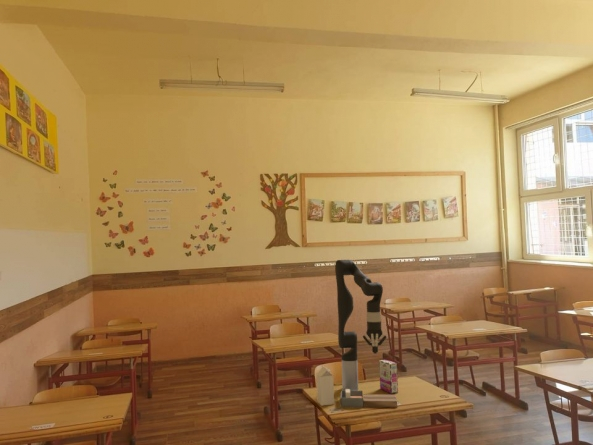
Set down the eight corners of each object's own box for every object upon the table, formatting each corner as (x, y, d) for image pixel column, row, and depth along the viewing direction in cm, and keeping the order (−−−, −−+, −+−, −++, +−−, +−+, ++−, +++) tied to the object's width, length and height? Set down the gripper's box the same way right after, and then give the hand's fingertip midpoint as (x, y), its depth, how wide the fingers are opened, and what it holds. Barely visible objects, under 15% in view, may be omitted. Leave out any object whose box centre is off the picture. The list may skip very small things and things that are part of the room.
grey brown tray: (363, 399, 248) (363, 394, 248) (395, 400, 246) (395, 394, 246) (363, 406, 237) (363, 400, 237) (397, 407, 235) (397, 401, 235)
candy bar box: (398, 392, 259) (397, 363, 260) (391, 394, 257) (390, 364, 258) (386, 387, 269) (385, 359, 270) (379, 388, 267) (378, 360, 268)
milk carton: (321, 406, 240) (320, 369, 241) (317, 401, 247) (316, 366, 248) (334, 404, 242) (333, 367, 243) (329, 400, 249) (328, 364, 250)
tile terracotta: (350, 400, 246) (350, 396, 246) (361, 400, 245) (361, 396, 245) (350, 404, 240) (350, 399, 240) (362, 404, 239) (362, 399, 239)
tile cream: (350, 400, 246) (345, 400, 246) (349, 389, 246) (345, 389, 247) (350, 404, 240) (346, 404, 240) (350, 392, 240) (345, 392, 241)
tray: (341, 399, 251) (341, 390, 251) (362, 399, 249) (362, 390, 249) (340, 407, 238) (340, 397, 238) (363, 407, 236) (362, 398, 237)
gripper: (386, 319, 247) (387, 351, 246) (361, 319, 249) (362, 351, 248) (387, 321, 240) (388, 354, 239) (361, 321, 241) (362, 354, 240)
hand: (375, 353), depth 243 cm, fingers closed
